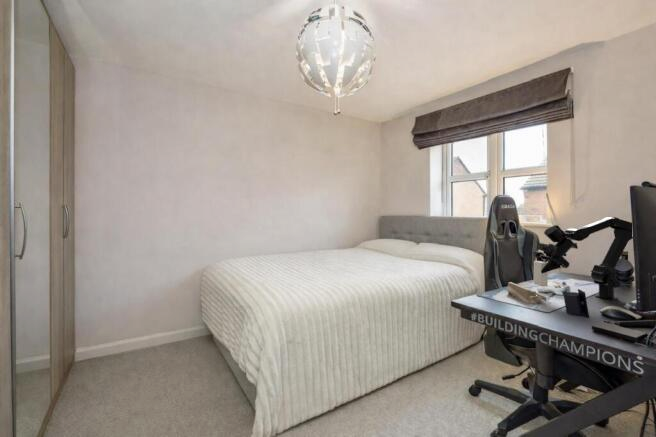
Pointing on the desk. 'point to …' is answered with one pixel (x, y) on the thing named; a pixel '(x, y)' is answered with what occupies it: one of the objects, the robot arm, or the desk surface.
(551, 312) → the desk surface
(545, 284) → the cream rectangular block
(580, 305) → the speaker
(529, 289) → the offcut stack
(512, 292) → the rack
